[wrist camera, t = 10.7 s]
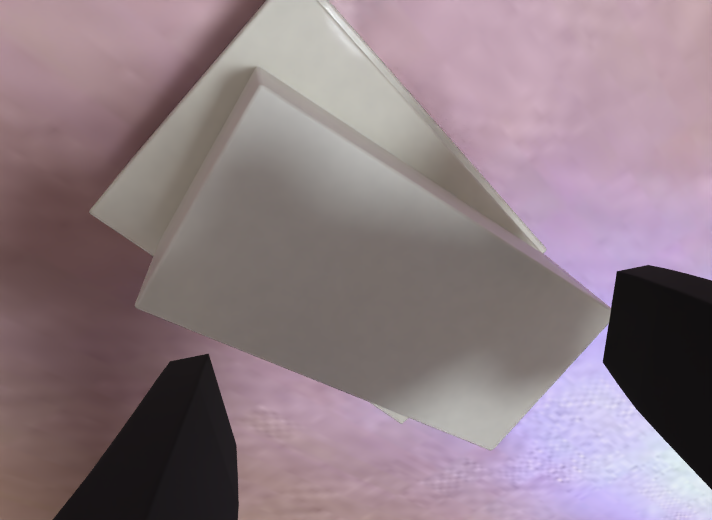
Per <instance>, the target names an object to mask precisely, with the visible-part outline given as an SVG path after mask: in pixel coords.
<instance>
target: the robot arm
mask: <svg viewBox="0 0 712 520" xmlns="http://www.w3.org/2000/svg"><path fill="white" fill-rule="evenodd" d="M603 363H604V365H605V366H606V368H607V369H608V370H609V372H610V373H611V375H612V376H613V378H614V379H615V381H616V382H617V384H618V385H619V386H620V388H621V389H622V391H623V392H624V393H625V395H626V396H627V397H628V398H629V400H630V401H631V402H632V404H633V405H634V406H635V408H636V409H637V410H638V411H639V412H640V414H641V415H642V416H643V417H644V418H645V419H646V420H647V421H648V422H649V423H650V425H651V426H652V427H653V428H654V429H655V430H656V431H657V432H658V433H659V434H660V435H661V436H662V437H663V439H664V440H665V441H666V442H667V443H668V444H669V445H670V446H671V447H672V448H673V449H674V450H675V451H676V452H677V453H678V455H679V456H680V457H681V458H682V459H683V460H684V461H685V462H686V463H687V464H688V465H689V466H690V467H691V468H692V469H693V470H694V471H695V472H696V473H697V475H698V476H699V477H700V478H701V479H702V480H703V481H704V482H705V483H706V484H707V485H708V486H709V487H710V488H711V489H712V281H711V280H708V279H704V278H700V277H697V276H693V275H689V274H686V273H682V272H678V271H674V270H669V269H665V268H660V267H655V266H650V265H646V266H642V267H637V268H632V269H627V270H622V271H617V275H616V281H615V287H614V294H613V300H612V307H611V313H610V319H609V326H608V332H607V339H606V345H605V351H604V358H603ZM238 506H239V502H238V472H237V451H236V442H235V439H234V436H233V433H232V429H231V426H230V423H229V419H228V416H227V413H226V410H225V406H224V403H223V400H222V396H221V393H220V390H219V387H218V383H217V380H216V377H215V373H214V370H213V367H212V364H211V360H210V357H209V354H205V355H200V356H195V357H190V358H185V359H180V360H175V361H170V362H169V364H168V365H167V366H166V368H165V369H164V370H163V372H162V373H161V374H160V376H159V377H158V378H157V380H156V381H155V383H154V384H153V386H152V387H151V388H150V390H149V391H148V393H147V394H146V396H145V397H144V398H143V400H142V401H141V403H140V404H139V406H138V407H137V408H136V410H135V411H134V413H133V414H132V416H131V417H130V418H129V420H128V421H127V423H126V424H125V426H124V427H123V428H122V430H121V431H120V432H119V434H118V435H117V437H116V438H115V439H114V441H113V442H112V443H111V445H110V446H109V447H108V449H107V450H106V452H105V453H104V454H103V456H102V457H101V458H100V460H99V461H98V462H97V464H96V465H95V466H94V468H93V469H92V471H91V472H90V473H89V475H88V476H87V477H86V478H85V480H84V481H83V482H82V484H81V485H80V486H79V488H78V489H77V490H76V491H75V493H74V494H73V495H72V496H71V498H70V499H69V500H68V501H67V503H66V504H65V505H64V506H63V508H62V509H61V510H60V511H59V512H58V514H57V515H56V516H55V517H54V519H53V520H238Z"/></svg>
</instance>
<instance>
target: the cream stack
mask: <svg viewBox="0 0 712 520" xmlns="http://www.w3.org/2000/svg"><path fill="white" fill-rule="evenodd" d="M256 67H261V68H262V69H264V70H265V71H267V72H268V73H270V74H271V75H273V76H274V77H276V78H277V79H279V80H281V81H282V82H284V83H285V84H287V85H288V86H290V87H291V88H293V89H294V90H296V91H297V92H299V93H300V94H302V95H303V96H305V97H306V98H308V99H309V100H311V101H312V102H314V103H315V104H317V105H318V106H320V107H321V108H323V109H324V110H326V111H327V112H329V113H330V114H332V115H334V116H335V117H337V118H338V119H340V120H341V121H343V122H344V123H346V124H347V125H349V126H350V127H352V128H353V129H355V130H356V131H358V132H359V133H361V134H362V135H364V136H365V137H367V138H368V139H370V140H371V141H373V142H374V143H376V144H377V145H379V146H380V147H382V148H383V149H385V150H387V151H388V152H390V153H391V154H393V155H394V156H396V157H397V158H399V159H400V160H402V161H403V162H405V163H406V164H408V165H409V166H411V167H412V168H414V169H415V170H417V171H418V172H420V173H421V174H423V175H424V176H426V177H427V178H429V179H430V180H432V181H433V182H435V183H437V184H438V185H440V186H441V187H443V188H444V189H446V190H447V191H449V192H450V193H452V194H453V195H455V196H456V197H458V198H459V199H461V200H462V201H464V202H465V203H467V204H468V205H470V206H471V207H473V208H474V209H476V210H477V211H479V212H480V213H482V214H483V215H485V216H486V217H488V218H490V219H491V220H493V221H494V222H496V223H497V224H499V225H500V226H502V227H503V228H505V229H506V230H508V231H509V232H511V233H512V234H514V235H515V236H517V237H518V238H520V239H521V240H523V241H524V242H526V243H527V244H529V245H530V246H532V247H533V248H535V249H536V250H538V251H539V252H541V253H544V252H545V251H546V248H545V247H544V245H543V244H542V243H541V242H540V241H539V240H538V239H537V237H536V236H535V235H534V234H533V233H532V232H531V231H530V229H529V228H528V227H527V226H526V225H525V224H524V223H523V222H522V220H521V219H520V218H519V217H518V216H517V215H516V214H515V212H514V211H513V210H512V209H511V208H510V207H509V206H508V204H507V203H506V202H505V201H504V200H503V199H502V198H501V196H500V195H499V194H498V193H497V192H496V191H495V190H494V188H493V187H492V186H491V185H490V184H489V183H488V182H487V180H486V179H485V178H484V177H483V176H482V175H481V174H480V173H479V171H478V170H477V169H476V168H475V167H474V166H473V165H472V163H471V162H470V161H469V160H468V159H467V158H466V157H465V155H464V154H463V153H462V152H461V151H460V150H459V149H458V147H457V146H456V145H455V144H454V143H453V142H452V141H451V139H450V138H449V137H448V136H447V135H446V134H445V133H444V131H443V130H442V129H441V128H440V127H439V126H438V125H437V123H436V122H435V121H434V120H433V119H432V118H431V117H430V116H429V114H428V113H427V112H426V111H425V110H424V109H423V108H422V106H421V105H420V104H419V103H418V102H417V101H416V100H415V98H414V97H413V96H412V95H411V94H410V93H409V92H408V90H407V89H406V88H405V87H404V86H403V85H402V84H401V82H400V81H399V80H398V79H397V78H396V77H395V76H394V74H393V73H392V72H391V71H390V70H389V69H388V68H387V67H386V65H385V64H384V63H383V62H382V61H381V60H380V59H379V57H378V56H377V55H376V54H375V53H374V52H373V51H372V49H371V48H370V47H369V46H368V45H367V44H366V43H365V41H364V40H363V39H362V38H361V37H360V36H359V35H358V33H357V32H356V31H355V30H354V29H353V28H352V27H351V25H350V24H349V23H348V22H347V21H346V20H345V19H344V17H343V16H342V15H341V14H340V13H339V12H338V11H337V10H336V8H335V7H334V6H333V5H332V4H331V3H330V2H329V0H266V1H265V2H264V3H263V5H262V6H261V7H260V8H259V9H258V11H257V12H256V13H255V14H254V15H253V16H252V18H251V19H250V20H249V21H248V22H247V23H246V25H245V26H244V27H243V28H242V29H241V31H240V32H239V33H238V34H237V35H236V36H235V38H234V39H233V40H232V41H231V42H230V44H229V45H228V46H227V47H226V48H225V49H224V51H223V52H222V53H221V54H220V55H219V56H218V58H217V59H216V60H215V61H214V62H213V64H212V65H211V66H210V67H209V68H208V69H207V71H206V72H205V73H204V74H203V75H202V76H201V78H200V79H199V80H198V81H197V82H196V84H195V85H194V86H193V87H192V88H191V89H190V91H189V92H188V93H187V94H186V95H185V96H184V98H183V99H182V100H181V101H180V102H179V104H178V105H177V106H176V107H175V108H174V109H173V111H172V112H171V113H170V114H169V115H168V117H167V118H166V119H165V120H164V121H163V122H162V124H161V125H160V126H159V127H158V128H157V129H156V131H155V132H154V133H153V134H152V135H151V137H150V138H149V139H148V140H147V141H146V142H145V144H144V145H143V146H142V147H141V148H140V149H139V151H138V152H137V153H136V154H135V155H134V157H133V158H132V159H131V160H130V161H129V162H128V164H127V165H126V166H125V167H124V169H123V170H122V171H121V172H120V174H119V175H118V176H117V177H116V178H115V180H114V181H113V182H112V183H111V185H110V186H109V187H108V188H107V190H106V191H105V192H104V193H103V194H102V196H101V197H100V198H99V199H98V201H97V202H96V203H95V204H94V206H93V207H92V208H91V209H90V214H91V215H93V216H94V217H96V218H97V219H99V220H100V221H102V222H103V223H105V224H106V225H108V226H109V227H111V228H112V229H113V230H115V231H116V232H118V233H119V234H121V235H122V236H124V237H125V238H127V239H128V240H130V241H131V242H133V243H134V244H136V245H137V246H139V247H140V248H142V249H143V250H145V251H146V252H148V253H149V254H151V255H152V256H154V254H155V251H156V249H157V246H158V243H159V241H160V239H161V237H162V235H163V233H164V231H165V230H166V228H167V226H168V224H169V222H170V221H171V219H172V217H173V215H174V213H175V212H176V210H177V208H178V206H179V204H180V203H181V201H182V199H183V197H184V195H185V194H186V192H187V190H188V188H189V186H190V185H191V183H192V181H193V179H194V177H195V176H196V174H197V172H198V170H199V168H200V167H201V165H202V163H203V161H204V159H205V158H206V156H207V154H208V152H209V150H210V149H211V147H212V145H213V143H214V141H215V140H216V138H217V136H218V134H219V132H220V131H221V129H222V127H223V125H224V123H225V122H226V120H227V118H228V116H229V114H230V113H231V111H232V109H233V107H234V105H235V104H236V102H237V100H238V98H239V96H240V95H241V93H242V91H243V89H244V87H245V86H246V84H247V82H248V80H249V78H250V77H251V75H252V73H253V71H254V69H255V68H256ZM370 403H371V402H370ZM371 404H373V403H371ZM373 405H374V406H376V407H377V408H379V409H380V410H382V411H383V412H384V413H386V414H387V415H389V416H390V417H392V418H393V419H395V420H396V421H398V422H399V423H401V424H402V423H403V422H405V421H406V420H407V419H408V417H406V416H403V415H401V414H398V413H396V412H393V411H391V410H388V409H386V408H383V407H381V406H378V405H376V404H373Z"/></svg>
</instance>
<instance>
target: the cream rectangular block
mask: <svg viewBox="0 0 712 520" xmlns="http://www.w3.org/2000/svg"><path fill="white" fill-rule="evenodd" d="M135 307H136V308H137V309H139V310H142V311H144V312H147V313H149V314H152V315H154V316H157V317H159V318H162V319H164V320H167V321H169V322H172V323H174V324H177V325H179V326H182V327H184V328H187V329H189V330H192V331H194V332H196V333H199V334H201V335H204V336H206V337H209V338H211V339H214V340H216V341H219V342H221V343H224V344H226V345H229V346H231V347H234V348H236V349H239V350H241V351H244V352H246V353H249V354H251V355H254V356H256V357H259V358H261V359H264V360H266V361H269V362H271V363H274V364H276V365H279V366H281V367H284V368H286V369H289V370H291V371H294V372H296V373H299V374H301V375H304V376H306V377H309V378H311V379H314V380H316V381H319V382H321V383H324V384H326V385H329V386H331V387H334V388H336V389H339V390H341V391H344V392H346V393H348V394H351V395H353V396H356V397H358V398H361V399H363V400H366V401H368V402H371V403H373V404H376V405H378V406H381V407H383V408H386V409H388V410H391V411H393V412H396V413H398V414H401V415H403V416H406V417H408V418H411V419H413V420H416V421H418V422H421V423H423V424H426V425H428V426H431V427H433V428H436V429H438V430H441V431H443V432H446V433H448V434H451V435H453V436H456V437H458V438H461V439H463V440H466V441H468V442H471V443H473V444H476V445H478V446H481V447H483V448H486V449H488V450H493V449H494V448H495V447H496V446H497V445H498V444H499V443H500V442H501V441H502V439H503V438H504V437H505V436H506V435H507V434H508V433H509V432H510V431H511V430H512V428H513V427H514V426H515V425H516V424H517V423H518V422H519V421H520V420H521V419H522V418H523V416H524V415H525V414H526V413H527V412H528V411H529V410H530V409H531V408H532V407H533V406H534V404H535V403H536V402H537V401H538V400H539V399H540V398H541V397H542V396H543V395H544V393H545V392H546V391H547V390H548V389H549V388H550V387H551V386H552V385H553V384H554V383H555V381H556V380H557V379H558V378H559V377H560V376H561V375H562V374H563V373H564V372H565V371H566V369H567V368H568V367H569V366H570V365H571V364H572V363H573V362H574V361H575V360H576V358H577V357H578V356H579V355H580V354H581V353H582V352H583V351H584V350H585V349H586V348H587V346H588V345H589V344H590V343H591V342H592V341H593V340H594V339H595V338H596V337H597V336H598V334H599V333H600V332H601V331H602V330H603V329H604V328H605V327H606V326H607V325H608V323H609V319H610V313H611V308H610V307H609V306H608V305H606V304H605V303H604V302H603V301H601V300H600V299H599V298H598V297H597V296H595V295H594V294H593V293H592V292H590V291H589V290H588V289H587V288H585V287H584V286H583V285H582V284H580V283H579V282H578V281H577V280H575V279H574V278H573V277H572V276H571V275H569V274H568V273H567V272H566V271H564V270H563V269H562V268H561V267H559V266H558V265H557V264H556V263H554V262H553V261H552V260H551V259H550V258H548V257H547V256H546V255H544V254H543V253H541V252H539V251H538V250H536V249H535V248H533V247H532V246H530V245H529V244H527V243H526V242H524V241H523V240H521V239H520V238H518V237H517V236H515V235H514V234H512V233H511V232H509V231H508V230H506V229H505V228H503V227H502V226H500V225H499V224H497V223H496V222H494V221H493V220H491V219H490V218H488V217H486V216H485V215H483V214H482V213H480V212H479V211H477V210H476V209H474V208H473V207H471V206H470V205H468V204H467V203H465V202H464V201H462V200H461V199H459V198H458V197H456V196H455V195H453V194H452V193H450V192H449V191H447V190H446V189H444V188H443V187H441V186H440V185H438V184H437V183H435V182H433V181H432V180H430V179H429V178H427V177H426V176H424V175H423V174H421V173H420V172H418V171H417V170H415V169H414V168H412V167H411V166H409V165H408V164H406V163H405V162H403V161H402V160H400V159H399V158H397V157H396V156H394V155H393V154H391V153H390V152H388V151H387V150H385V149H383V148H382V147H380V146H379V145H377V144H376V143H374V142H373V141H371V140H370V139H368V138H367V137H365V136H364V135H362V134H361V133H359V132H358V131H356V130H355V129H353V128H352V127H350V126H349V125H347V124H346V123H344V122H343V121H341V120H340V119H338V118H337V117H335V116H334V115H332V114H330V113H329V112H327V111H326V110H324V109H323V108H321V107H320V106H318V105H317V104H315V103H314V102H312V101H311V100H309V99H308V98H306V97H305V96H303V95H302V94H300V93H299V92H297V91H296V90H294V89H293V88H291V87H290V86H288V85H287V84H285V83H284V82H282V81H281V80H279V79H277V78H276V77H274V76H273V75H271V74H270V73H268V72H267V71H265V70H264V69H262V68H261V67H256V68H255V69H254V71H253V73H252V75H251V77H250V78H249V80H248V82H247V84H246V86H245V87H244V89H243V91H242V93H241V95H240V96H239V98H238V100H237V102H236V104H235V105H234V107H233V109H232V111H231V113H230V114H229V116H228V118H227V120H226V122H225V123H224V125H223V127H222V129H221V131H220V132H219V134H218V136H217V138H216V140H215V141H214V143H213V145H212V147H211V149H210V150H209V152H208V154H207V156H206V158H205V159H204V161H203V163H202V165H201V167H200V168H199V170H198V172H197V174H196V176H195V177H194V179H193V181H192V183H191V185H190V186H189V188H188V190H187V192H186V194H185V195H184V197H183V199H182V201H181V203H180V204H179V206H178V208H177V210H176V212H175V213H174V215H173V217H172V219H171V221H170V222H169V224H168V226H167V228H166V230H165V231H164V233H163V235H162V237H161V239H160V241H159V243H158V246H157V249H156V251H155V254H154V256H153V259H152V261H151V264H150V266H149V269H148V272H147V274H146V277H145V279H144V282H143V284H142V287H141V289H140V292H139V295H138V297H137V300H136V302H135Z"/></svg>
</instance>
